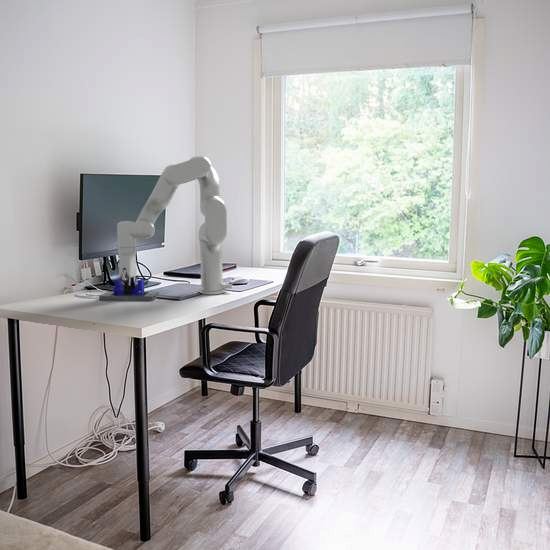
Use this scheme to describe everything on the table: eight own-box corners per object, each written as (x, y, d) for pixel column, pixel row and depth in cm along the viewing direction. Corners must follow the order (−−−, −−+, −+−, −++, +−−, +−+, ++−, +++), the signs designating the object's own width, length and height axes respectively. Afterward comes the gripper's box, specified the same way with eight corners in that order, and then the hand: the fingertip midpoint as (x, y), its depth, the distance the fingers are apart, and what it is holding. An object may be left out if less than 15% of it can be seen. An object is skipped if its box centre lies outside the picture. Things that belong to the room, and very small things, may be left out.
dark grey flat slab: (159, 296, 279) (158, 291, 278) (152, 301, 269) (152, 295, 268) (107, 295, 281) (107, 290, 280) (99, 300, 271) (99, 295, 271)
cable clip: (113, 294, 273) (113, 280, 272) (117, 292, 278) (117, 279, 277) (140, 295, 271) (139, 281, 270) (144, 293, 276) (143, 279, 275)
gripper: (125, 248, 280) (127, 289, 283) (112, 253, 263) (114, 297, 266) (142, 248, 279) (144, 289, 282) (129, 253, 263) (132, 297, 266)
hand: (129, 292), depth 274 cm, fingers closed on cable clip, 4 cm apart
